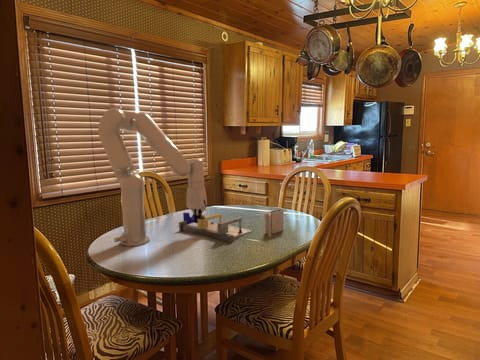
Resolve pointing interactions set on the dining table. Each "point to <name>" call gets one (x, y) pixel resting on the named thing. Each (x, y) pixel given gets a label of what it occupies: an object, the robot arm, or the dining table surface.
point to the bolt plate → (231, 229)
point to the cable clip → (188, 218)
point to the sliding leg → (204, 221)
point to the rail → (205, 232)
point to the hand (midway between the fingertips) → (197, 222)
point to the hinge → (273, 221)
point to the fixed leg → (224, 225)
